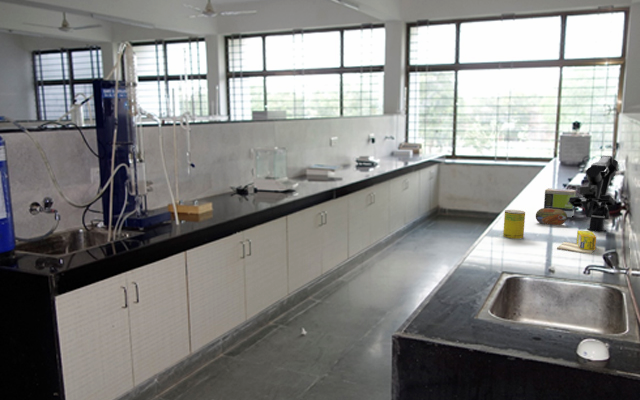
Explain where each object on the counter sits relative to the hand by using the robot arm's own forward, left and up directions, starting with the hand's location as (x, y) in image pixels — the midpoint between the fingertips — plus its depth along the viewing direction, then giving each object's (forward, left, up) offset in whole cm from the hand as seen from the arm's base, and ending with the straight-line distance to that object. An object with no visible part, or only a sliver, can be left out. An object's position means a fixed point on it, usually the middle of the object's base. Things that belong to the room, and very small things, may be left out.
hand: (587, 217), depth 238 cm
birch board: (+17, +9, -11) cm, 22 cm away
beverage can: (+26, -19, -11) cm, 34 cm away
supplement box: (+9, +6, -7) cm, 13 cm away
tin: (-13, -31, -11) cm, 35 cm away
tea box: (-37, -46, -11) cm, 60 cm away
